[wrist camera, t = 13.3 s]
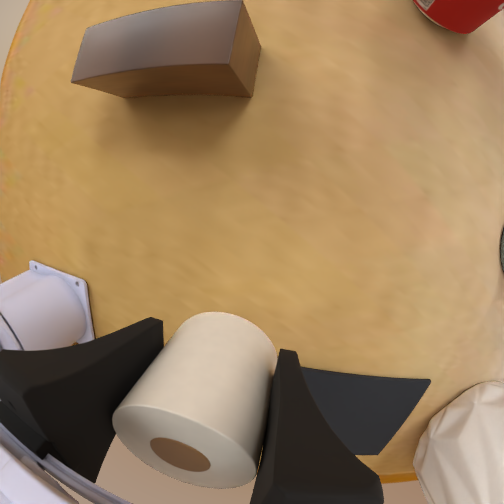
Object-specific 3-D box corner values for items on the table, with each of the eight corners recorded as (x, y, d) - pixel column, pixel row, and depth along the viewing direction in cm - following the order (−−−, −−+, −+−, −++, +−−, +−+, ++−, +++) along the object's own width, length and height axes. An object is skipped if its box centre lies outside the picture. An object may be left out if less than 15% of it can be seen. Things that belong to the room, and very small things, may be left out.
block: (123, 98, 17) (70, 82, 11) (133, 53, 16) (86, 27, 10) (252, 97, 16) (228, 64, 10) (261, 46, 14) (242, -1, 9)
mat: (238, 437, 24) (237, 440, 24) (255, 358, 21) (254, 360, 20) (377, 452, 22) (377, 455, 22) (430, 379, 19) (431, 381, 18)
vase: (483, 435, 20) (510, 513, 6) (395, 462, 23) (406, 560, 8) (525, 357, 16) (584, 443, 2) (428, 387, 19) (473, 523, 5)
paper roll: (230, 407, 14) (199, 496, 8) (157, 350, 13) (94, 429, 8) (300, 360, 12) (293, 471, 6) (215, 288, 12) (148, 379, 6)
